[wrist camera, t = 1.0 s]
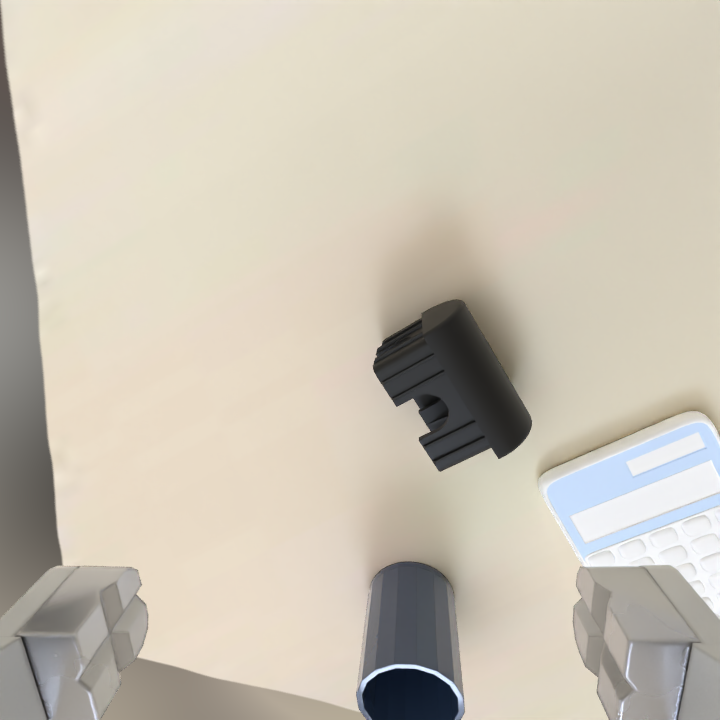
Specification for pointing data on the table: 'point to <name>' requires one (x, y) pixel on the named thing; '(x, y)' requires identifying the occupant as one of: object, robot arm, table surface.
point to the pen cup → (410, 647)
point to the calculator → (646, 502)
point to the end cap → (453, 386)
